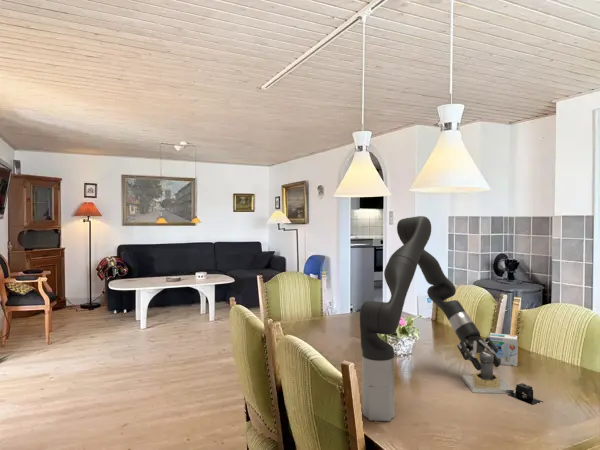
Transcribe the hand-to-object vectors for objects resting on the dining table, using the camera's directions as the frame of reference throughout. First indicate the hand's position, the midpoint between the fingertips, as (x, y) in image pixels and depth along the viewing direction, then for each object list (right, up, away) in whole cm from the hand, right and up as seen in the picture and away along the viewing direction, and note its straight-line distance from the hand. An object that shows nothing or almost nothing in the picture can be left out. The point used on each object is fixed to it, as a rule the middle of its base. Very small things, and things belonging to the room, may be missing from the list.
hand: (489, 367), depth 147 cm
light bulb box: (+17, -7, +27) cm, 32 cm away
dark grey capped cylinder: (0, -5, +1) cm, 6 cm away
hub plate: (0, -7, +1) cm, 7 cm away
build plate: (+7, -7, -9) cm, 14 cm away
